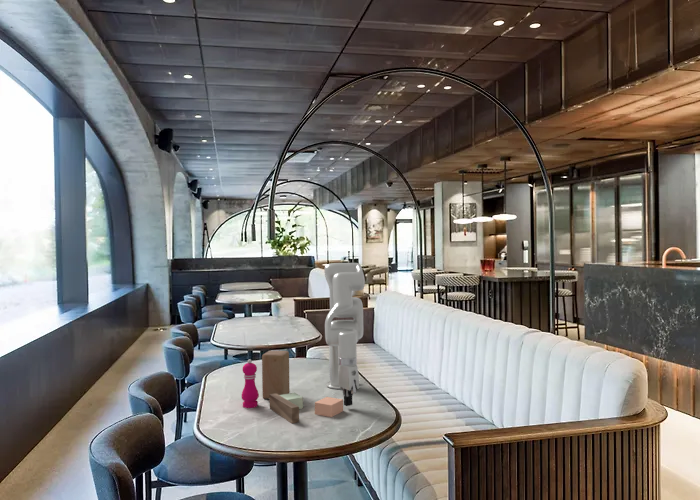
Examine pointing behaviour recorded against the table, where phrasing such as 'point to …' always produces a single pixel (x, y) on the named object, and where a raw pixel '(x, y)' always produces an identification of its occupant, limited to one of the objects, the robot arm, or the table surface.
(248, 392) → the pepper mill
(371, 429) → the table surface
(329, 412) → the terracotta block
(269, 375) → the wooden block
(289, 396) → the sage block
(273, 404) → the walnut board
